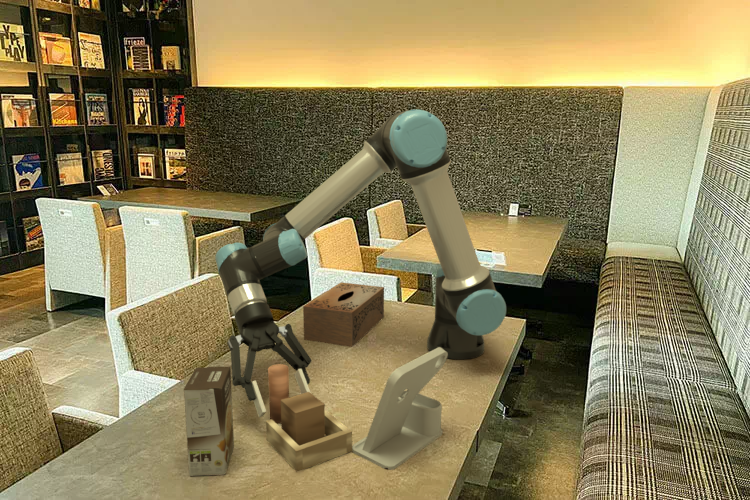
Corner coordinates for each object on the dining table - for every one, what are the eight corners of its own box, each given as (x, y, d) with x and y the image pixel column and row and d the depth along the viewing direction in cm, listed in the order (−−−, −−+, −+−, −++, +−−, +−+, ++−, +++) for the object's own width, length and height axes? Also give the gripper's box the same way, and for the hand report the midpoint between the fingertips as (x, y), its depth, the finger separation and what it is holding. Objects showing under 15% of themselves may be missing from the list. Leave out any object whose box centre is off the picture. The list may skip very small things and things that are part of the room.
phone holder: (405, 415, 118) (407, 333, 115) (447, 432, 112) (450, 346, 108) (348, 450, 106) (348, 359, 102) (391, 472, 99) (393, 376, 95)
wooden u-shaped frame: (266, 440, 109) (265, 421, 108) (319, 422, 115) (318, 404, 114) (296, 472, 99) (296, 451, 98) (352, 451, 105) (352, 431, 104)
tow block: (262, 418, 116) (260, 368, 114) (288, 410, 120) (287, 361, 117) (296, 453, 105) (295, 397, 102) (324, 443, 108) (324, 389, 105)
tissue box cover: (352, 348, 154) (352, 312, 152) (303, 340, 159) (303, 306, 157) (383, 318, 178) (384, 287, 175) (340, 312, 182) (340, 282, 180)
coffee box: (226, 475, 98) (222, 388, 94) (188, 476, 97) (182, 389, 94) (235, 445, 107) (231, 365, 103) (199, 446, 106) (194, 366, 103)
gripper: (291, 308, 131) (327, 399, 122) (196, 327, 119) (228, 430, 110) (302, 292, 126) (340, 385, 117) (203, 310, 113) (237, 416, 104)
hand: (286, 407), depth 113 cm, fingers open, 9 cm apart
